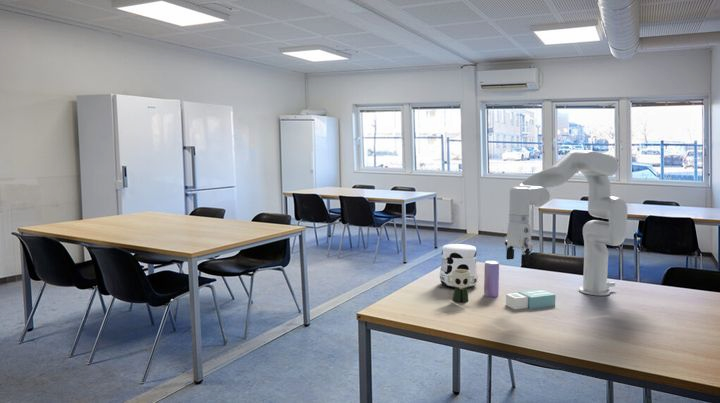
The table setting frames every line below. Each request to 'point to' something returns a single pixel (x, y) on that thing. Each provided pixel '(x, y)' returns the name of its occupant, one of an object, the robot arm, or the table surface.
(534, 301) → the striped teal box
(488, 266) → the beverage can
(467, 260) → the milk container
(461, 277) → the character mug
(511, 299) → the white box
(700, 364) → the table surface
